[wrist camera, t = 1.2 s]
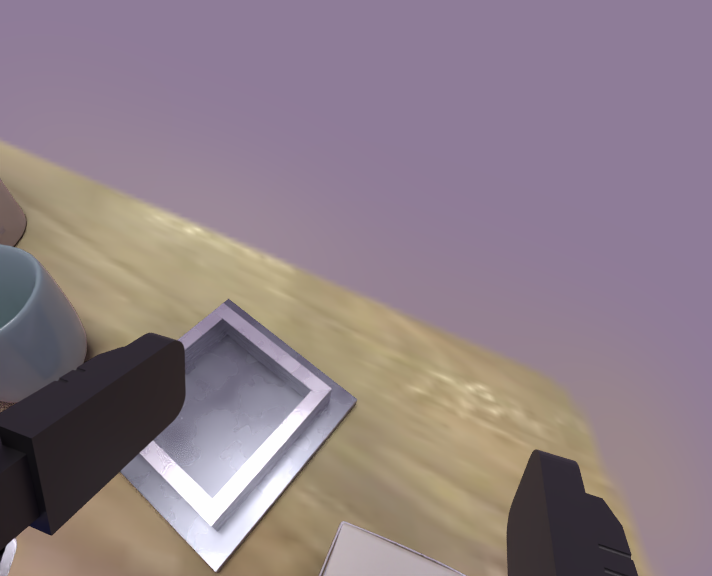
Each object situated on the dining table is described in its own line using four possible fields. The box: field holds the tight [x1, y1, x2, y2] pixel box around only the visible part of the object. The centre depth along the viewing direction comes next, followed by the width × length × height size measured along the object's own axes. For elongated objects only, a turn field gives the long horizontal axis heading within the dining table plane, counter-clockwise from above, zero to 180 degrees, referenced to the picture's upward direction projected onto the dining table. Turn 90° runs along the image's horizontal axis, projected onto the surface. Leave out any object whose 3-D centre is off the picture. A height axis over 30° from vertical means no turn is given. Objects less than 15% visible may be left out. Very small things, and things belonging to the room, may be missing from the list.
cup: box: [0, 244, 87, 403], centre depth 29 cm, size 8×8×10 cm
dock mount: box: [120, 299, 357, 573], centre depth 31 cm, size 14×14×4 cm
